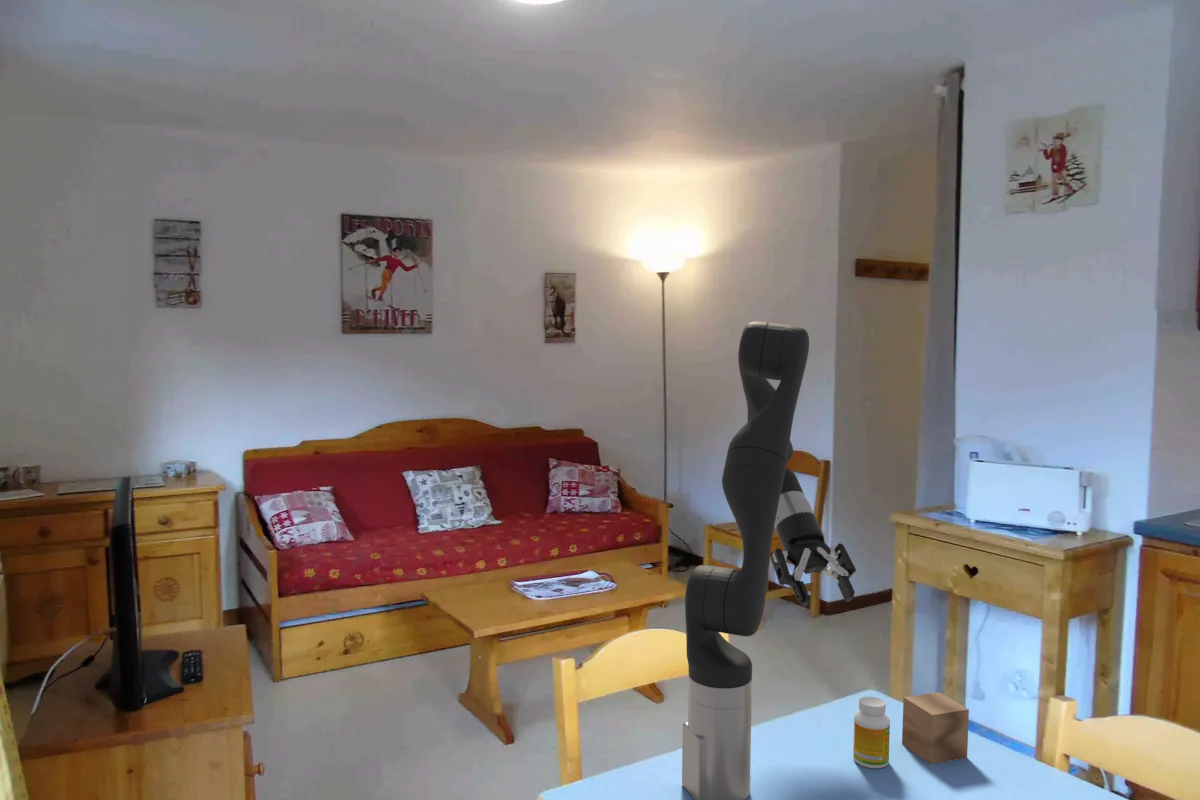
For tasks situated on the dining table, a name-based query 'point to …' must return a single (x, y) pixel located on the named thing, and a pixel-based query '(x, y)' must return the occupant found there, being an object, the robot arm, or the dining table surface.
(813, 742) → the dining table surface
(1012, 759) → the dining table surface
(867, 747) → the supplement bottle
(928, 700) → the walnut block
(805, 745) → the dining table surface
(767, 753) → the dining table surface
